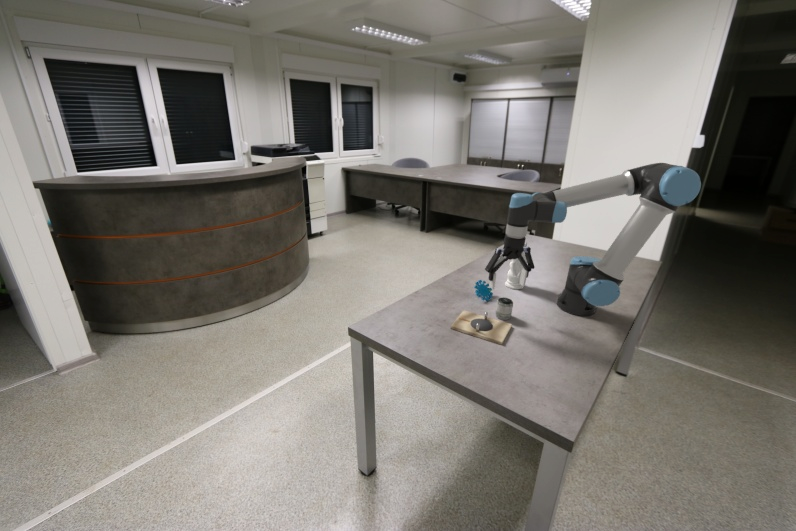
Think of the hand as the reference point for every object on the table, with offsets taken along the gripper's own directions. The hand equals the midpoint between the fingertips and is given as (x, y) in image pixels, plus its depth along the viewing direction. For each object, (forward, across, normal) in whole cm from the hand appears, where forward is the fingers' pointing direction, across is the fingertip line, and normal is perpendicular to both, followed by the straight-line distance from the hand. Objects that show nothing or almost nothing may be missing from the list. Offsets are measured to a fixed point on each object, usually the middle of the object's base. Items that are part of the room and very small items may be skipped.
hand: (506, 286), depth 139 cm
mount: (+14, +12, +6) cm, 20 cm away
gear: (+14, 0, -17) cm, 22 cm away
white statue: (+14, -20, -27) cm, 36 cm away
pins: (+13, +12, +6) cm, 19 cm away
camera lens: (+14, 0, 0) cm, 14 cm away
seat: (+13, +12, +6) cm, 19 cm away
